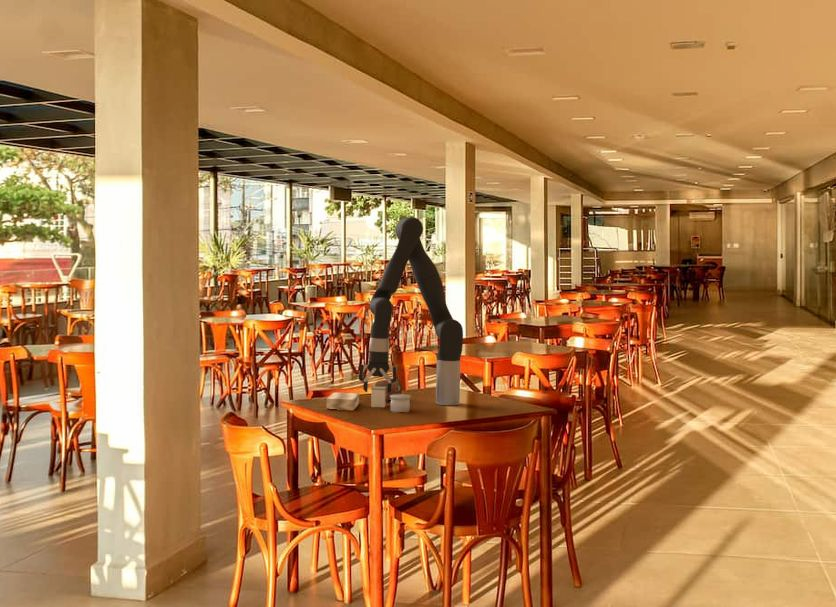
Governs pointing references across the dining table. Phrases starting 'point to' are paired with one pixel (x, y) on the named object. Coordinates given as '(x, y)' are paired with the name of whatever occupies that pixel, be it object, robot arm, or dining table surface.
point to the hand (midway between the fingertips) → (377, 392)
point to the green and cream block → (378, 396)
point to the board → (343, 401)
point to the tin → (395, 387)
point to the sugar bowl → (400, 402)
